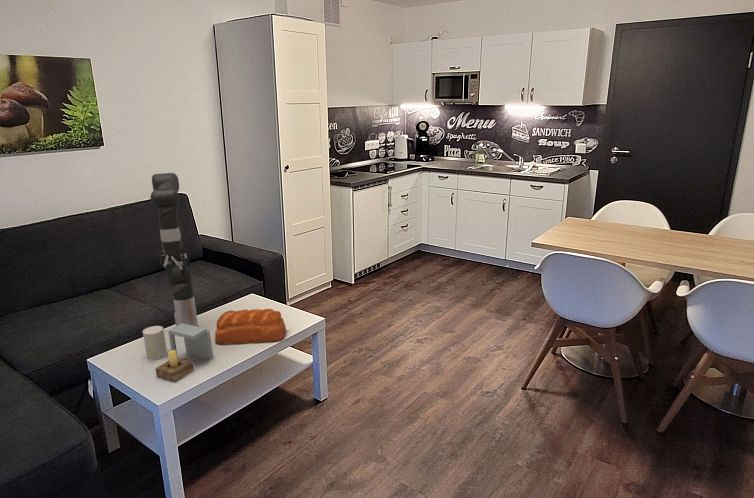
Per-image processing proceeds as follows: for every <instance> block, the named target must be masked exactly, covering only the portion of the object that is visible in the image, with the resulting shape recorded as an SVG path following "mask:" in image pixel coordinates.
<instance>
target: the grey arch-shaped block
mask: <svg viewBox="0 0 754 498" xmlns="http://www.w3.org/2000/svg"><path fill="white" fill-rule="evenodd" d="M167 333H168V339H169V344H170V350H176V353H177V358H179V356H178V351H177V350H178V348H177V345H176V344H177V343H176V337H175V336H177V337H181V338H183V340H184V346H185V353H186V355H190V356H195V357H199V358H203V359H206V360H209V361H210V360H213V359H214V354H213V346H212V345H213V344H212V339H211V338H212V337H211V331H210V329H207V328H205V327H200V326H198V327H197V326H192V325H188V324H183V323H181V324H179V325H177V326H176V325H175V326H174V327H171V328H170V329H168V330H167Z"/></svg>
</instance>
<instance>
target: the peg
mask: <svg viewBox="0 0 754 498" xmlns="http://www.w3.org/2000/svg"><path fill="white" fill-rule="evenodd" d="M167 355H168V361H169V362H170V368H173V369H175V368H176V367H178V360H177V355H178V352H177V353H176V350H171V349H170V350H169V351H167Z"/></svg>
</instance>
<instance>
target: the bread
mask: <svg viewBox="0 0 754 498" xmlns="http://www.w3.org/2000/svg"><path fill="white" fill-rule="evenodd" d="M215 326H216V330H215V333H214V334H215V335H214V337H215V338H214V342H215V343H216V344H219V345H239V344H240V345H241V344H243V345H244V344H249V343H252V344H259V343H271V342H277V341H281V340H283V339H284V338H285V336H286V324H285V321H284V318H283V317H282V313H281V312H280V311H279V310H278V311H277V310H274V309H273V308H264V309H260V308H258V309H257V308H254V309H243V310H228V311H225V312H223V313H222V314H221V315H220V316H219V318H218V319H217V320H216V325H215Z"/></svg>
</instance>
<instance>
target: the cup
mask: <svg viewBox="0 0 754 498" xmlns="http://www.w3.org/2000/svg"><path fill="white" fill-rule="evenodd" d="M142 337H143V341H144V346H145V347H144V348H145V354H146V358H147V360H151V361H157V360H160V359H162V358H165V357H166V356H167V355H168V351H167V343H166V342H167V341H166V338H165V331H164V327H163V326H162V325H154V326H149V327H145V328H144V329H143V330H142Z"/></svg>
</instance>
